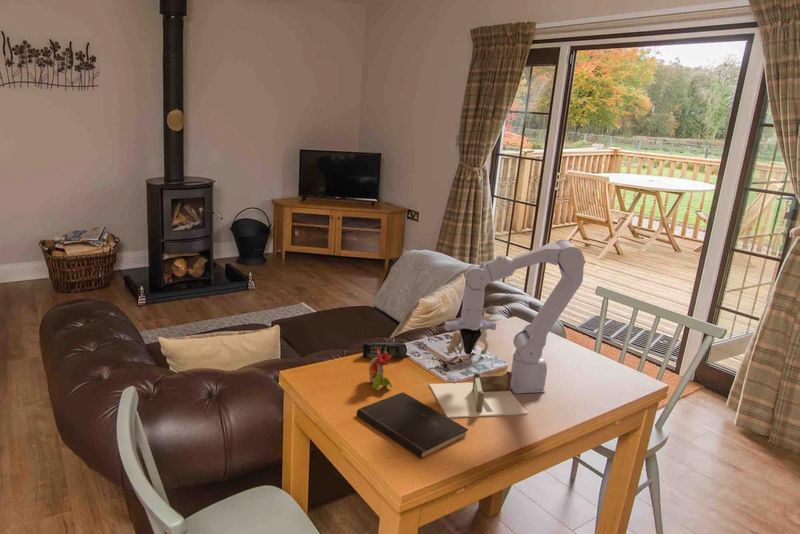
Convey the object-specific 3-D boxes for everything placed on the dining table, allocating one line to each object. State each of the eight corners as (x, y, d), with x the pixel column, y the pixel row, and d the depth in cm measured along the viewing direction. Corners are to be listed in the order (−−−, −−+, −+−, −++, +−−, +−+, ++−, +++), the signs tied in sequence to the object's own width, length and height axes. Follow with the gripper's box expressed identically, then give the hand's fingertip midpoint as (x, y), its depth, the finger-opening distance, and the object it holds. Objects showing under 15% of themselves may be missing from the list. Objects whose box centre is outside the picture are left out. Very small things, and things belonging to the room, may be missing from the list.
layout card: (501, 382, 170) (501, 381, 170) (527, 414, 153) (527, 412, 153) (429, 385, 165) (429, 383, 165) (447, 418, 148) (447, 416, 148)
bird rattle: (362, 390, 163) (376, 392, 155) (357, 351, 164) (371, 350, 156) (381, 387, 166) (397, 388, 159) (376, 348, 167) (391, 347, 160)
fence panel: (472, 391, 162) (474, 374, 160) (478, 392, 162) (480, 375, 160) (476, 411, 151) (478, 393, 150) (482, 412, 151) (484, 394, 150)
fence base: (508, 388, 166) (510, 371, 164) (510, 390, 164) (512, 374, 163) (471, 389, 163) (473, 372, 162) (473, 392, 162) (475, 375, 160)
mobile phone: (363, 344, 178) (412, 344, 180) (362, 340, 181) (410, 340, 183) (363, 359, 179) (411, 359, 181) (362, 355, 182) (409, 355, 184)
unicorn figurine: (497, 351, 192) (502, 313, 188) (463, 368, 178) (467, 327, 174) (479, 344, 196) (484, 307, 193) (444, 360, 182) (448, 320, 179)
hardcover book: (402, 399, 157) (403, 391, 156) (467, 437, 141) (468, 429, 140) (356, 417, 146) (356, 409, 145) (420, 460, 130) (421, 451, 130)
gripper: (451, 313, 156) (447, 359, 160) (502, 312, 159) (496, 358, 163) (444, 304, 163) (440, 349, 166) (493, 304, 166) (487, 348, 170)
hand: (467, 352), depth 165 cm, fingers closed
